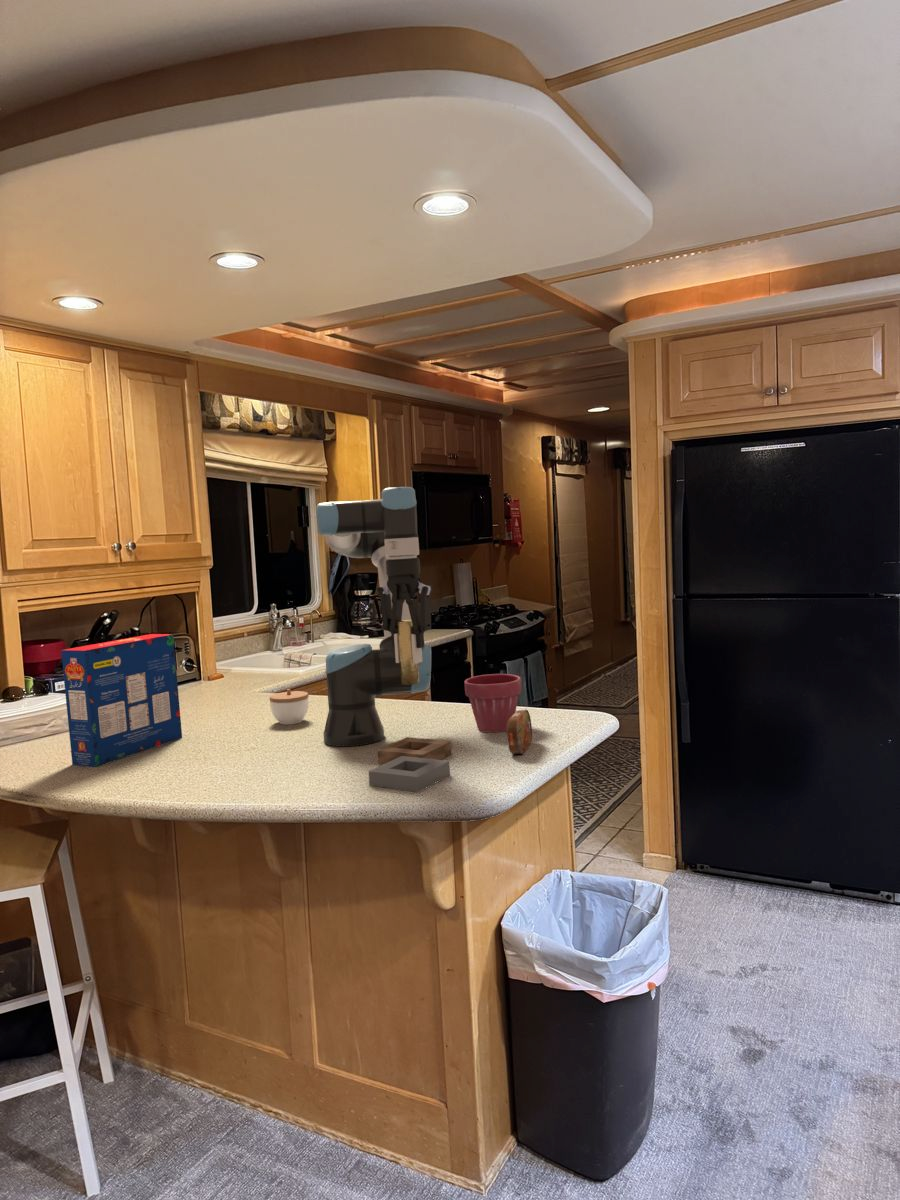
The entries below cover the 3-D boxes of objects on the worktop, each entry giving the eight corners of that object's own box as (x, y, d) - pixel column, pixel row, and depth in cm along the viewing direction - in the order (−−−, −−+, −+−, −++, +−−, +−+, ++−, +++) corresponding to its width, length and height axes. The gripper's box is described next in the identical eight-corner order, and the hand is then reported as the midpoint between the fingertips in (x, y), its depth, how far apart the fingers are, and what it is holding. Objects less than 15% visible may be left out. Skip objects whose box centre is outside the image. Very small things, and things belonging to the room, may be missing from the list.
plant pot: (461, 735, 206) (458, 684, 205) (473, 721, 220) (470, 674, 218) (518, 735, 202) (515, 683, 201) (527, 721, 216) (524, 673, 215)
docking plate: (369, 785, 169) (368, 771, 168) (402, 769, 179) (401, 755, 179) (418, 792, 162) (417, 777, 162) (450, 775, 173) (449, 760, 172)
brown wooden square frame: (378, 763, 185) (377, 750, 184) (408, 749, 195) (407, 737, 195) (423, 768, 178) (422, 755, 178) (451, 754, 189) (450, 741, 188)
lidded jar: (318, 719, 234) (315, 686, 233) (291, 728, 225) (289, 694, 224) (290, 716, 240) (287, 684, 239) (263, 725, 231) (260, 691, 230)
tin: (520, 758, 182) (518, 721, 181) (506, 758, 183) (504, 720, 182) (533, 741, 196) (531, 706, 196) (520, 740, 197) (518, 706, 197)
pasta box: (160, 736, 224) (150, 634, 222) (182, 737, 221) (173, 634, 219) (72, 764, 199) (61, 650, 197) (95, 767, 196) (84, 650, 194)
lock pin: (398, 684, 185) (393, 622, 184) (407, 680, 188) (404, 619, 187) (412, 685, 183) (408, 622, 181) (422, 681, 186) (418, 619, 185)
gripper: (361, 559, 184) (368, 663, 186) (425, 557, 175) (432, 666, 177) (381, 557, 191) (387, 658, 193) (444, 555, 182) (450, 660, 184)
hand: (409, 661), depth 185 cm, fingers closed on lock pin, 4 cm apart
